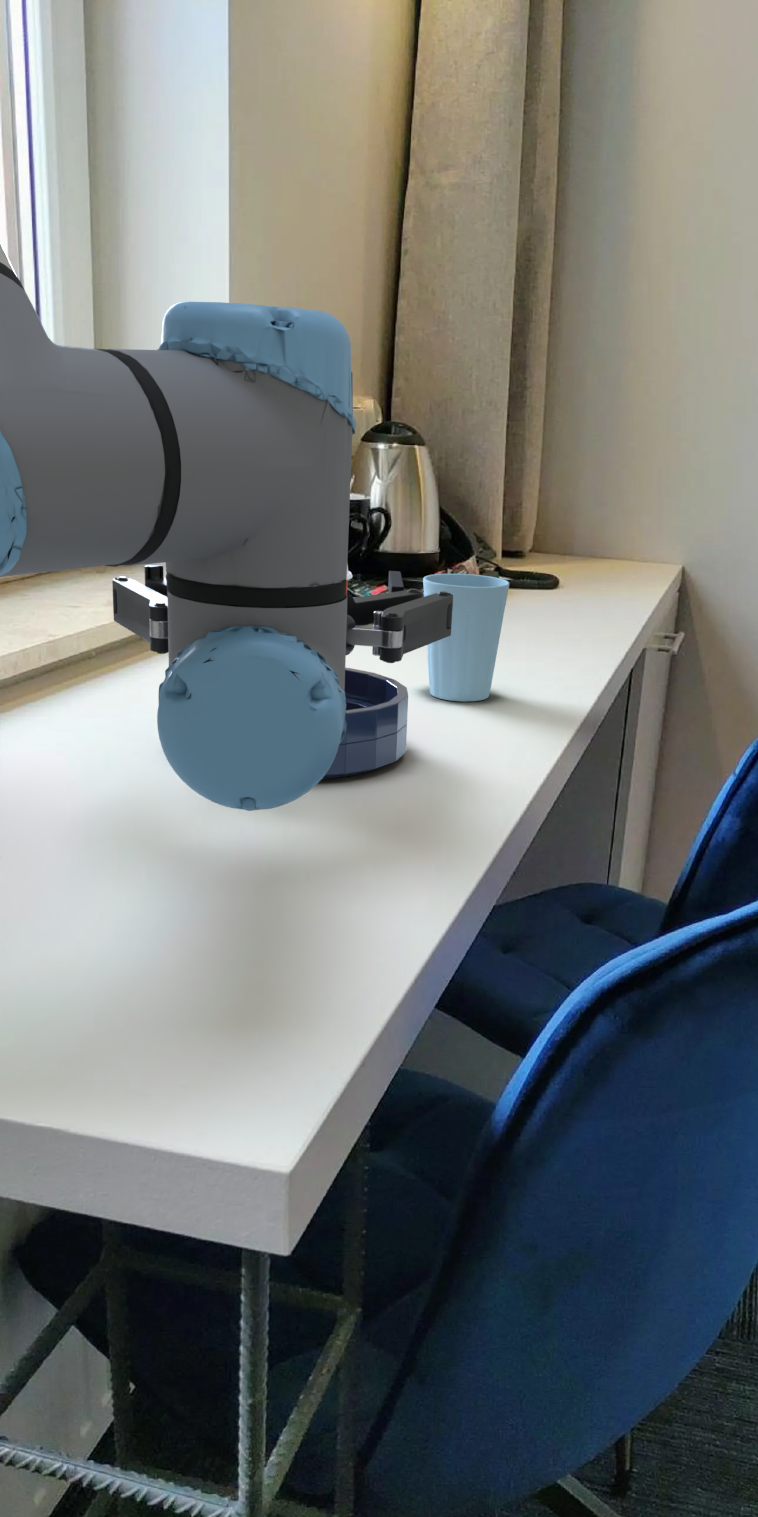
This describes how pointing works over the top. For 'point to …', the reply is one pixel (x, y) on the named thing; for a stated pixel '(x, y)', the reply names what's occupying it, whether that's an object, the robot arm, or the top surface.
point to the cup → (466, 636)
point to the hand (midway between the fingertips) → (290, 586)
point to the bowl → (371, 724)
